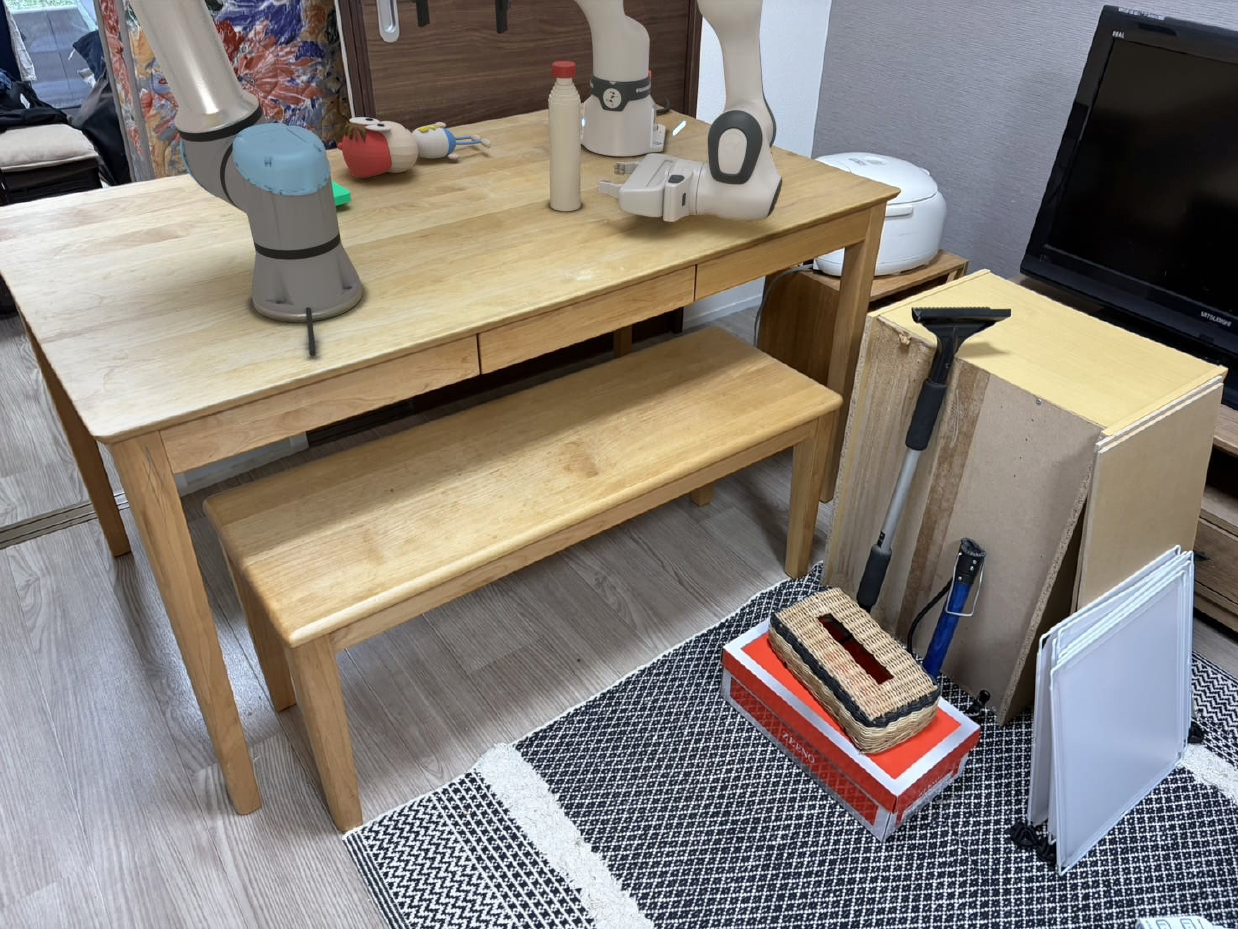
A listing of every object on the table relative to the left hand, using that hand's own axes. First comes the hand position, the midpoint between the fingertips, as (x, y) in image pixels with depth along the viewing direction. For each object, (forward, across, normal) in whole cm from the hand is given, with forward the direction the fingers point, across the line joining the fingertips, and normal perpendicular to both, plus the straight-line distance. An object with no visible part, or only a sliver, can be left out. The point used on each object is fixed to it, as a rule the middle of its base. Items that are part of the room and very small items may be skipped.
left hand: (462, 28), depth 148 cm
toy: (+29, -19, +14) cm, 38 cm away
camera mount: (+29, -26, -10) cm, 40 cm away
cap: (+5, +16, +5) cm, 17 cm away
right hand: (+23, +23, +5) cm, 33 cm away
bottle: (+29, +15, +4) cm, 33 cm away
